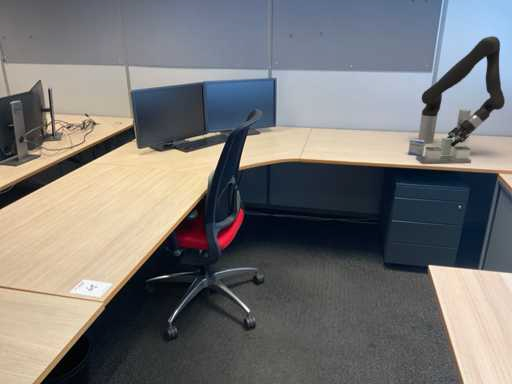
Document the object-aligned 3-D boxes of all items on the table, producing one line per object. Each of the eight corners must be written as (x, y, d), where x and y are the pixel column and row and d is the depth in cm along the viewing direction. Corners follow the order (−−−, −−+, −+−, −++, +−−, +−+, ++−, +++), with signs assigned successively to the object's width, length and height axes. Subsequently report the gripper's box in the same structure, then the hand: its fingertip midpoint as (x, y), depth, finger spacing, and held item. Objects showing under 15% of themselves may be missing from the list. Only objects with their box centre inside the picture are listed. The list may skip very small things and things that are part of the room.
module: (439, 153, 251) (442, 138, 248) (447, 153, 251) (449, 137, 248) (442, 155, 248) (445, 139, 244) (450, 155, 248) (453, 139, 244)
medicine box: (407, 154, 250) (409, 140, 246) (409, 152, 253) (411, 138, 250) (422, 156, 246) (424, 141, 243) (423, 154, 250) (425, 139, 247)
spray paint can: (464, 139, 279) (469, 108, 272) (466, 142, 273) (471, 110, 266) (453, 138, 281) (458, 108, 273) (455, 141, 275) (460, 110, 267)
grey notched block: (416, 158, 242) (417, 146, 239) (462, 158, 243) (465, 145, 240) (422, 163, 234) (424, 150, 231) (470, 163, 234) (473, 149, 232)
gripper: (461, 116, 249) (438, 136, 253) (473, 122, 235) (450, 142, 239) (468, 125, 251) (446, 144, 255) (481, 131, 238) (457, 151, 242)
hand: (448, 143), depth 247 cm, fingers open, 8 cm apart
